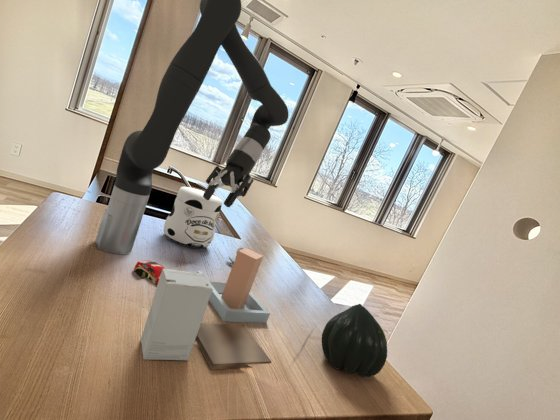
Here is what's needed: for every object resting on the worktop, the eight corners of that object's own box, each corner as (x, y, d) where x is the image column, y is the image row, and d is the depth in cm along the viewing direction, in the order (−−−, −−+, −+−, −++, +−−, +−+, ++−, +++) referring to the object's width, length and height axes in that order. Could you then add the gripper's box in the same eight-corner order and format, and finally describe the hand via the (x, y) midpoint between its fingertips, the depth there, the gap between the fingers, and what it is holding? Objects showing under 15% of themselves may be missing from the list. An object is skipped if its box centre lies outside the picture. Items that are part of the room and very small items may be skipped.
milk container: (194, 256, 118) (212, 204, 115) (150, 235, 122) (167, 184, 119) (217, 247, 135) (233, 202, 132) (177, 229, 138) (192, 185, 136)
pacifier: (250, 271, 124) (242, 263, 129) (256, 254, 123) (248, 247, 128) (231, 269, 120) (224, 260, 124) (238, 252, 119) (230, 244, 123)
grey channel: (222, 324, 82) (227, 311, 81) (193, 282, 98) (197, 271, 97) (265, 326, 89) (270, 313, 88) (232, 286, 105) (236, 275, 104)
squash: (390, 381, 74) (401, 312, 82) (320, 353, 75) (338, 289, 84) (369, 391, 85) (380, 330, 94) (309, 367, 87) (325, 309, 95)
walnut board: (211, 369, 65) (213, 363, 65) (188, 328, 76) (190, 322, 76) (269, 366, 73) (271, 361, 73) (241, 329, 83) (243, 324, 83)
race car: (179, 293, 90) (184, 279, 89) (161, 296, 85) (166, 281, 85) (148, 269, 97) (152, 255, 96) (130, 270, 92) (135, 256, 91)
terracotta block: (219, 302, 90) (238, 250, 88) (227, 297, 95) (246, 248, 93) (236, 311, 89) (256, 259, 87) (244, 305, 93) (263, 256, 91)
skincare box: (182, 342, 70) (207, 273, 68) (188, 363, 65) (215, 288, 63) (137, 339, 66) (162, 265, 64) (140, 361, 61) (167, 281, 59)
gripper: (221, 145, 108) (191, 189, 103) (257, 152, 99) (226, 201, 95) (234, 160, 113) (206, 203, 109) (269, 168, 105) (240, 215, 100)
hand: (215, 202), depth 102 cm, fingers open, 8 cm apart
